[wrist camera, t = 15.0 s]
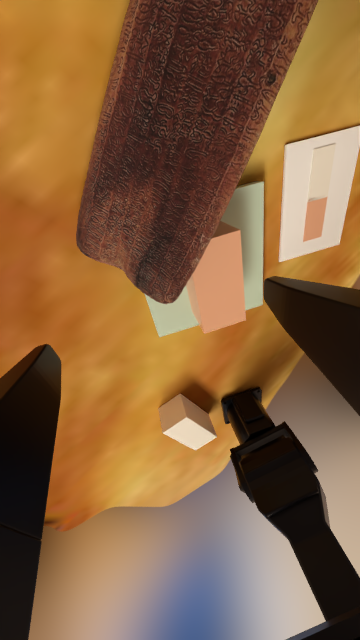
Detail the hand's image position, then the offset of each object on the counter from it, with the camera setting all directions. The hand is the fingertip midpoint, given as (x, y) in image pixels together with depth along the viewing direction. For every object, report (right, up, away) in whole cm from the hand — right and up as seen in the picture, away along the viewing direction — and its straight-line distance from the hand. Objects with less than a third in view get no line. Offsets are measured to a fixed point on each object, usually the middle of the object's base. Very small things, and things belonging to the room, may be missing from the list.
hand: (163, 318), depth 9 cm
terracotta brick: (+3, +5, +12) cm, 13 cm away
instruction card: (+13, +11, +12) cm, 21 cm away
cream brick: (+1, -14, +25) cm, 29 cm away
